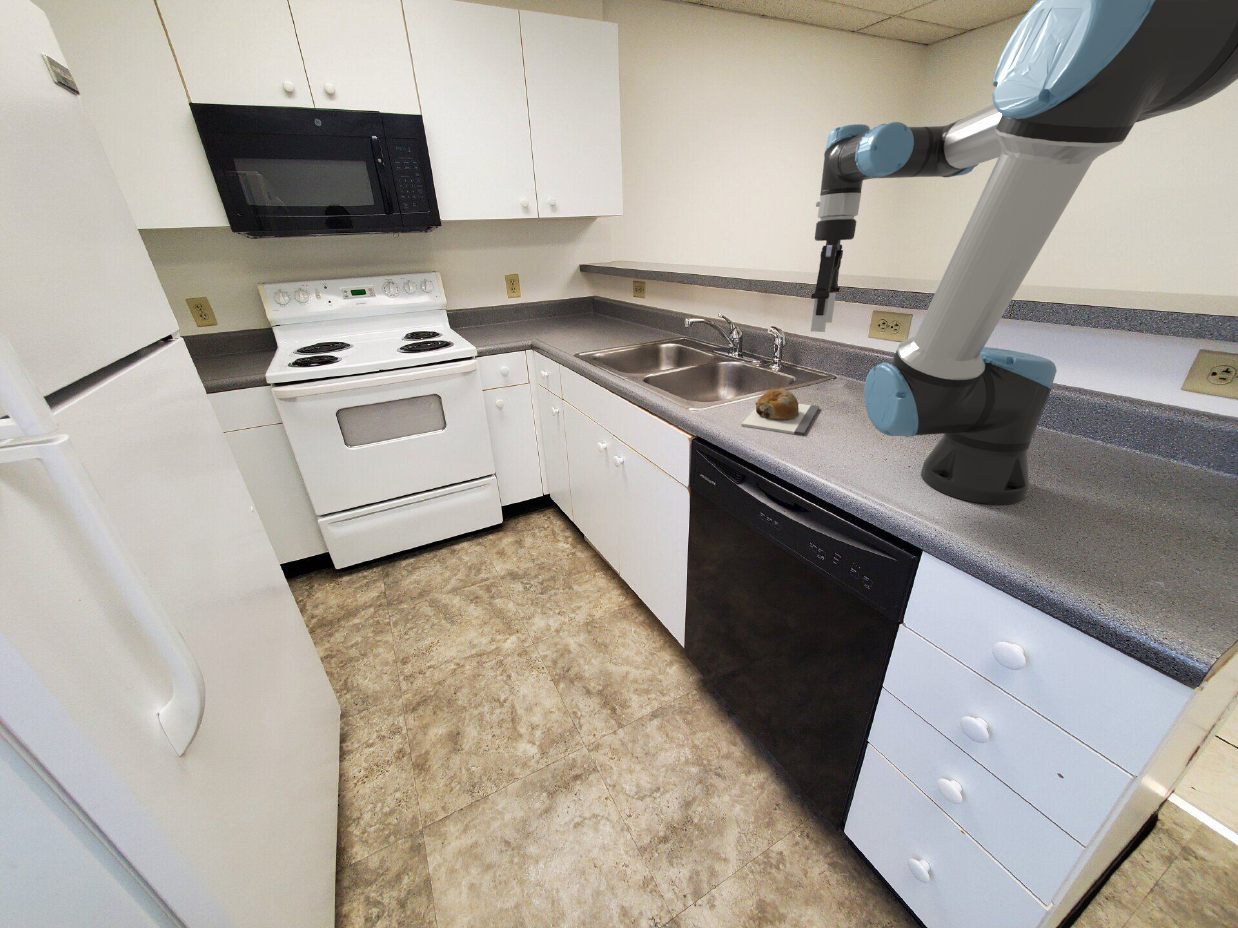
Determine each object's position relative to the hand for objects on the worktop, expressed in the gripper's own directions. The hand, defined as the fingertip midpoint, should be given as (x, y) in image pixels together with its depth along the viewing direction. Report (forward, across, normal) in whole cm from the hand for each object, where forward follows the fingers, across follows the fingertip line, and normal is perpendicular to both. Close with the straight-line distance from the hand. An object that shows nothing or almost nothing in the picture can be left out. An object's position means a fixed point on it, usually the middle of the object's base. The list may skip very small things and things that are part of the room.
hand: (821, 326), depth 105 cm
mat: (+22, +1, -6) cm, 22 cm away
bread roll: (+21, +1, -8) cm, 23 cm away
